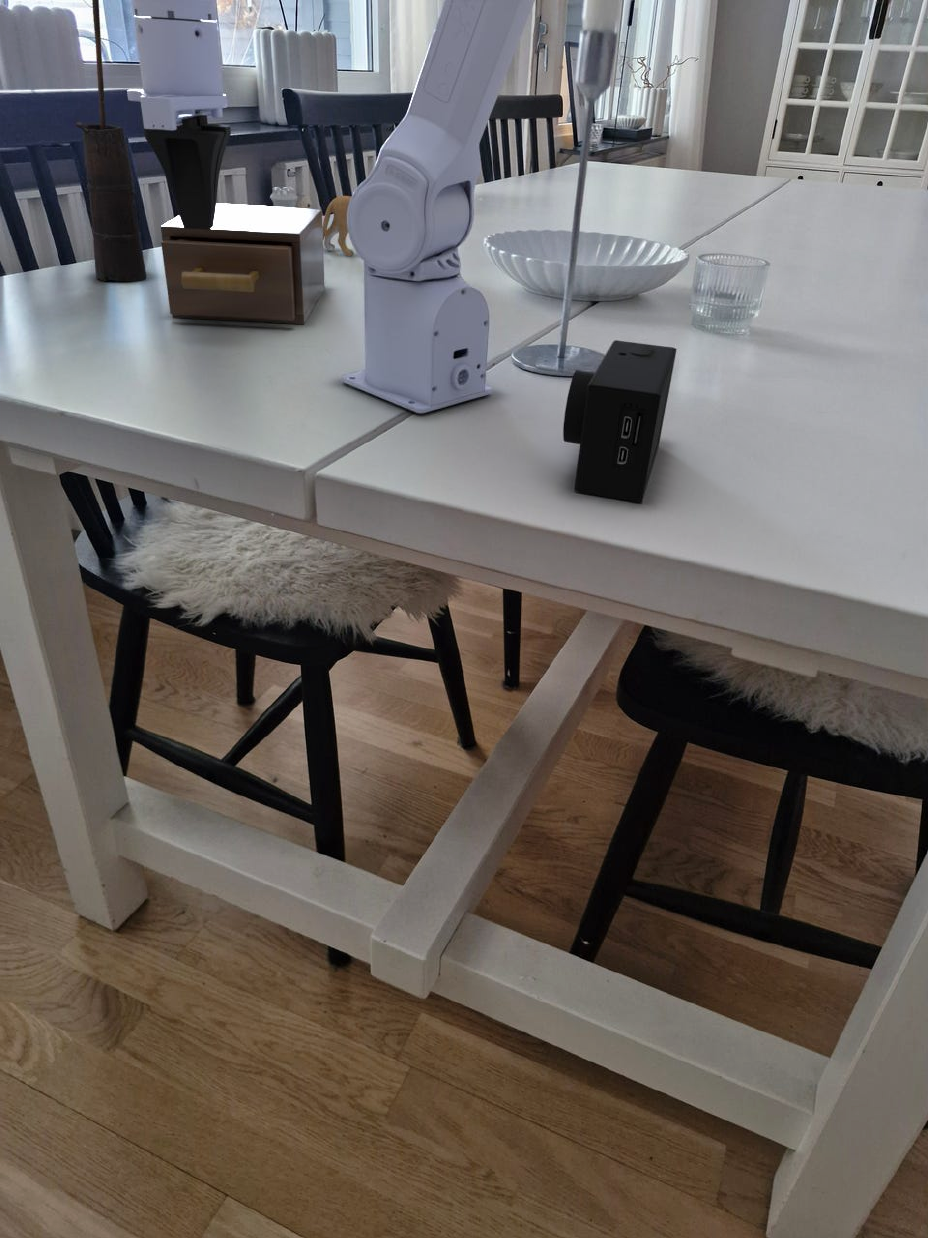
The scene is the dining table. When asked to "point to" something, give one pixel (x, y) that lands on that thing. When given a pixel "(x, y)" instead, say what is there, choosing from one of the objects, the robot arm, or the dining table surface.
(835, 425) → the dining table surface
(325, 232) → the lion figurine
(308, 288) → the cabinet
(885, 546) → the dining table surface
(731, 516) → the dining table surface
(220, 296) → the drawer
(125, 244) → the butter churn
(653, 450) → the digital camera
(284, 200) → the rook chess piece
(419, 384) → the robot arm
